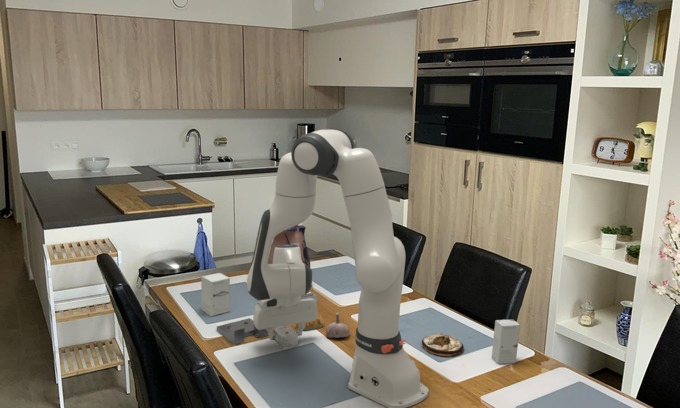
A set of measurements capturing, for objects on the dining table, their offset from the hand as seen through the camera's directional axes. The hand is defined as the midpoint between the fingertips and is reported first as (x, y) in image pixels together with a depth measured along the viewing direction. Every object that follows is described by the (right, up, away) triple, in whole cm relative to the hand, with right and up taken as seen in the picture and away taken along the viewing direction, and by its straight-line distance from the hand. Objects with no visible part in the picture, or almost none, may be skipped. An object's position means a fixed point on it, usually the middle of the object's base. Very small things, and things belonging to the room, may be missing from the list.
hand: (285, 337), depth 170 cm
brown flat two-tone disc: (+49, -4, +1) cm, 49 cm away
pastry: (+7, 0, +13) cm, 15 cm away
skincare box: (+66, -6, -6) cm, 66 cm away
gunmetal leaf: (-15, 0, +7) cm, 17 cm away
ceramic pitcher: (-6, +9, +50) cm, 51 cm away
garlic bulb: (+16, -1, +6) cm, 17 cm away
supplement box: (-27, +4, +22) cm, 35 cm away
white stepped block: (-1, -1, +2) cm, 2 cm away
